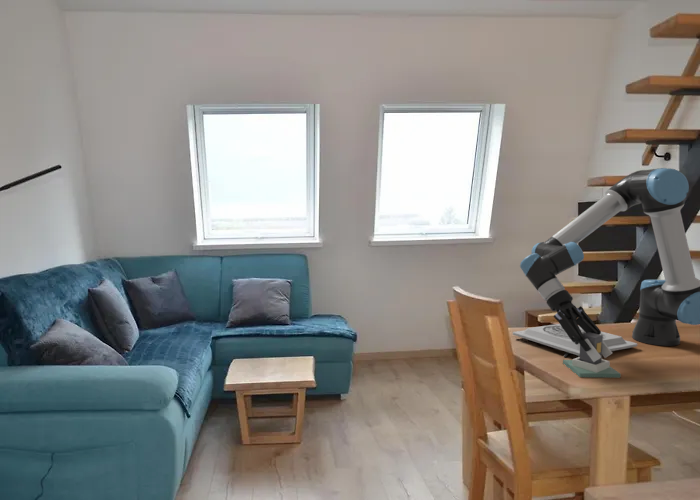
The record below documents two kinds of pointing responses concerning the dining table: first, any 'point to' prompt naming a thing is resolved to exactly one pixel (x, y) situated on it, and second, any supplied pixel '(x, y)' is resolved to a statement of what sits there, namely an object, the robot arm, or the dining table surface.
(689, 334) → the dining table surface
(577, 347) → the ventilation fan
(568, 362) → the header board
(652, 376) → the dining table surface
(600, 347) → the plug
